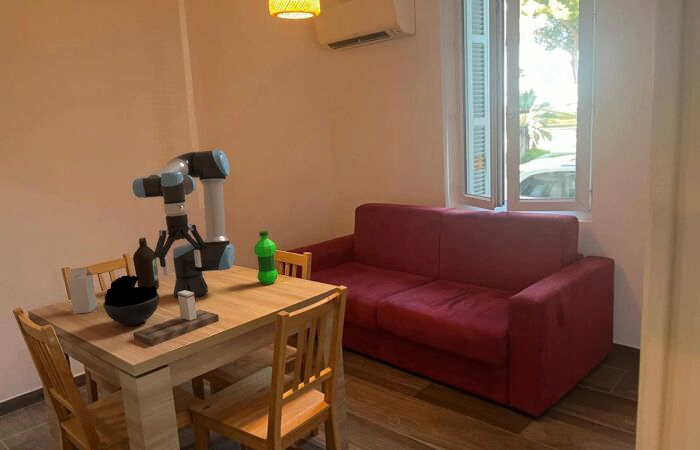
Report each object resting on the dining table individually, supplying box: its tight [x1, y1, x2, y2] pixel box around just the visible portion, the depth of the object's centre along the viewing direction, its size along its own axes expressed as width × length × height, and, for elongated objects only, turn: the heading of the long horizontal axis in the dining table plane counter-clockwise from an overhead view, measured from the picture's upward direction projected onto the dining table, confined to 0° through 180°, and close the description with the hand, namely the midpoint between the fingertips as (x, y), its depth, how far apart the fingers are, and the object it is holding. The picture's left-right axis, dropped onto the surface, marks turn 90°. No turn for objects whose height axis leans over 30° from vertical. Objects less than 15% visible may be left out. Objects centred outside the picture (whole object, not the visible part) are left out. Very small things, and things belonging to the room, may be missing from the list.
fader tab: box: [177, 290, 197, 320], centre depth 194 cm, size 3×6×10 cm, turn 51°
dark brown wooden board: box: [132, 309, 220, 347], centre depth 191 cm, size 28×12×3 cm, turn 141°
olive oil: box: [132, 237, 160, 289], centre depth 248 cm, size 11×11×25 cm
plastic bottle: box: [253, 230, 279, 285], centre depth 245 cm, size 10×10×25 cm
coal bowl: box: [103, 274, 160, 326], centre depth 200 cm, size 20×20×19 cm
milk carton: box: [67, 266, 98, 315], centre depth 220 cm, size 7×7×19 cm
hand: (182, 270), depth 191 cm, fingers open, 13 cm apart
